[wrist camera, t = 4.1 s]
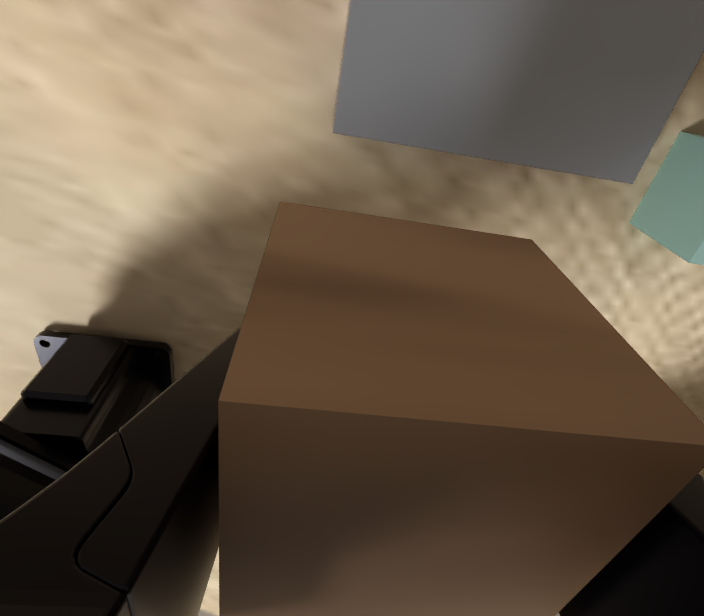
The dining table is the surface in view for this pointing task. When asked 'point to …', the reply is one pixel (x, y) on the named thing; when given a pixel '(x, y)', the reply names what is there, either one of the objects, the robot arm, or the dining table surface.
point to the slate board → (519, 78)
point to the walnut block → (431, 427)
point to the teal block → (677, 201)
